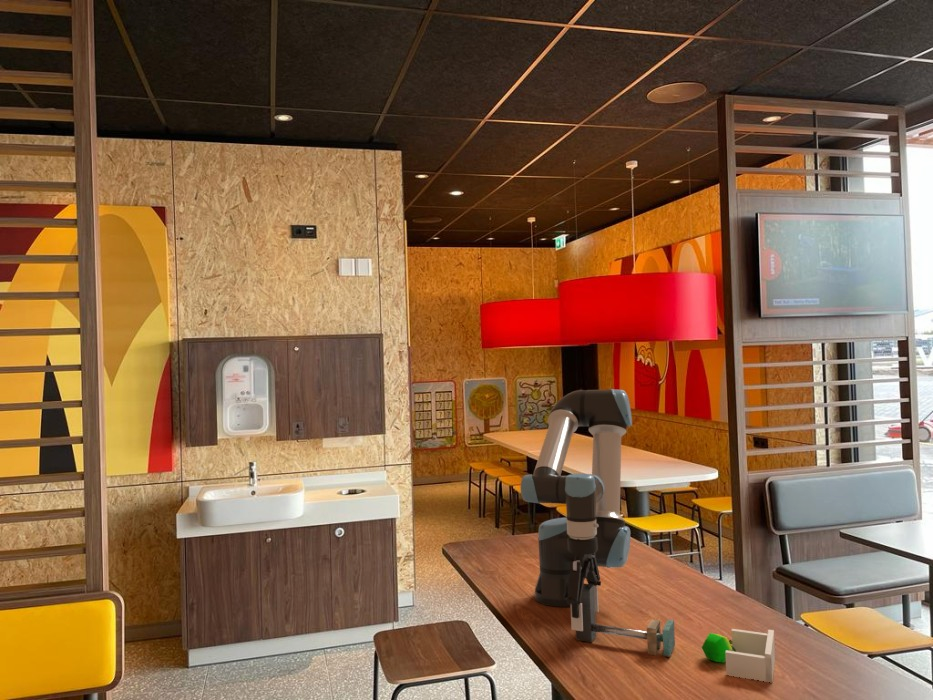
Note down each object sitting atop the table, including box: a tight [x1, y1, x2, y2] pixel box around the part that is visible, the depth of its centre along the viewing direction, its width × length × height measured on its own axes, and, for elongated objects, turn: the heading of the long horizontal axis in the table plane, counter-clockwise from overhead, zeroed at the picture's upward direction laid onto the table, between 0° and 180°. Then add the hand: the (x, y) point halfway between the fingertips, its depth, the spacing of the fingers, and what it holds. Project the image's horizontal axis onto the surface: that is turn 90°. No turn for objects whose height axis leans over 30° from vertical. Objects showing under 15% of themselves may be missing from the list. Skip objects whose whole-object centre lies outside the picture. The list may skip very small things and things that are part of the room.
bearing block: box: [646, 619, 662, 656], centre depth 160 cm, size 2×6×6 cm, turn 153°
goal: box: [725, 628, 776, 684], centre depth 150 cm, size 9×14×6 cm, turn 153°
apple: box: [701, 632, 736, 663], centre depth 154 cm, size 7×6×9 cm
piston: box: [575, 583, 676, 658], centre depth 164 cm, size 23×7×13 cm, turn 63°
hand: (585, 620), depth 168 cm, fingers open, 13 cm apart
